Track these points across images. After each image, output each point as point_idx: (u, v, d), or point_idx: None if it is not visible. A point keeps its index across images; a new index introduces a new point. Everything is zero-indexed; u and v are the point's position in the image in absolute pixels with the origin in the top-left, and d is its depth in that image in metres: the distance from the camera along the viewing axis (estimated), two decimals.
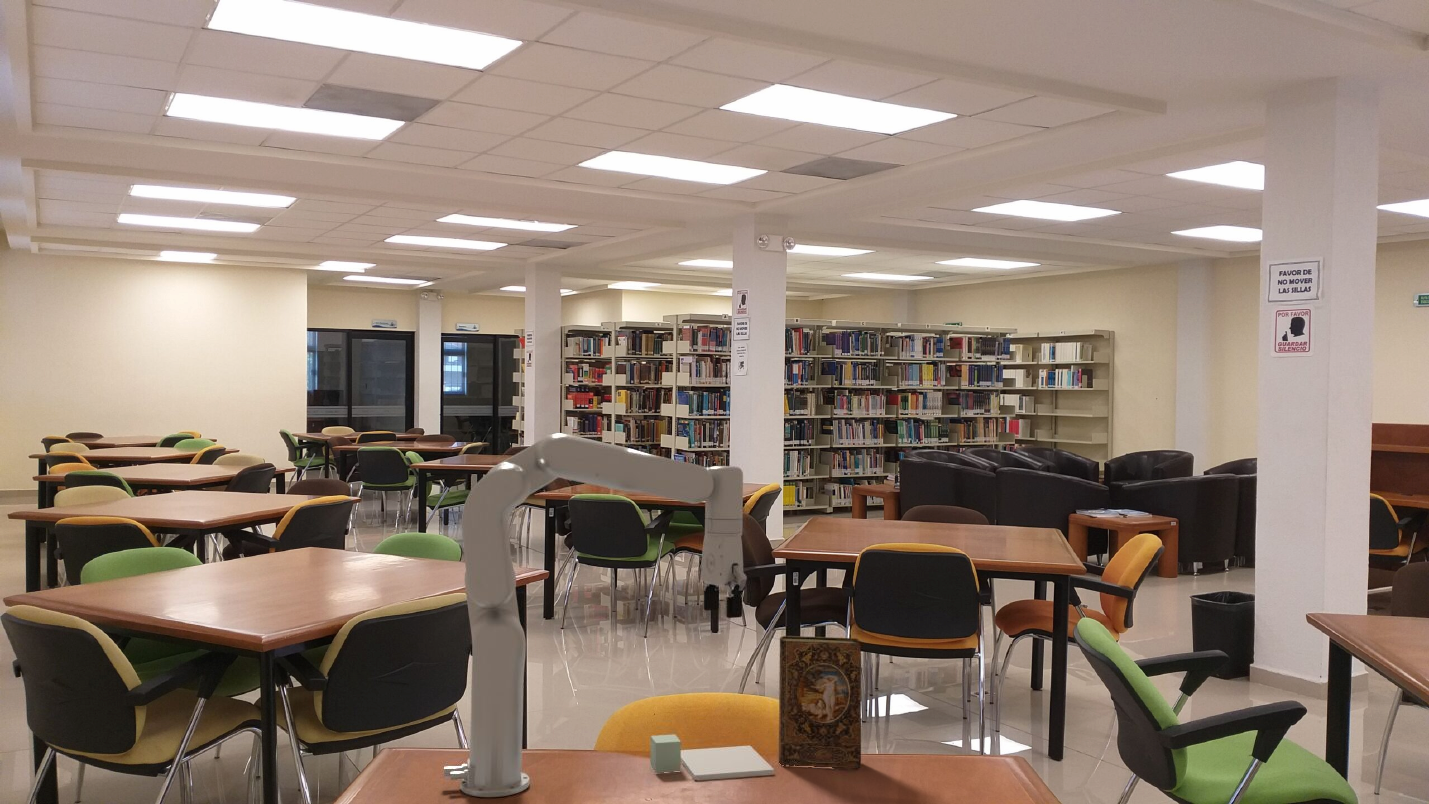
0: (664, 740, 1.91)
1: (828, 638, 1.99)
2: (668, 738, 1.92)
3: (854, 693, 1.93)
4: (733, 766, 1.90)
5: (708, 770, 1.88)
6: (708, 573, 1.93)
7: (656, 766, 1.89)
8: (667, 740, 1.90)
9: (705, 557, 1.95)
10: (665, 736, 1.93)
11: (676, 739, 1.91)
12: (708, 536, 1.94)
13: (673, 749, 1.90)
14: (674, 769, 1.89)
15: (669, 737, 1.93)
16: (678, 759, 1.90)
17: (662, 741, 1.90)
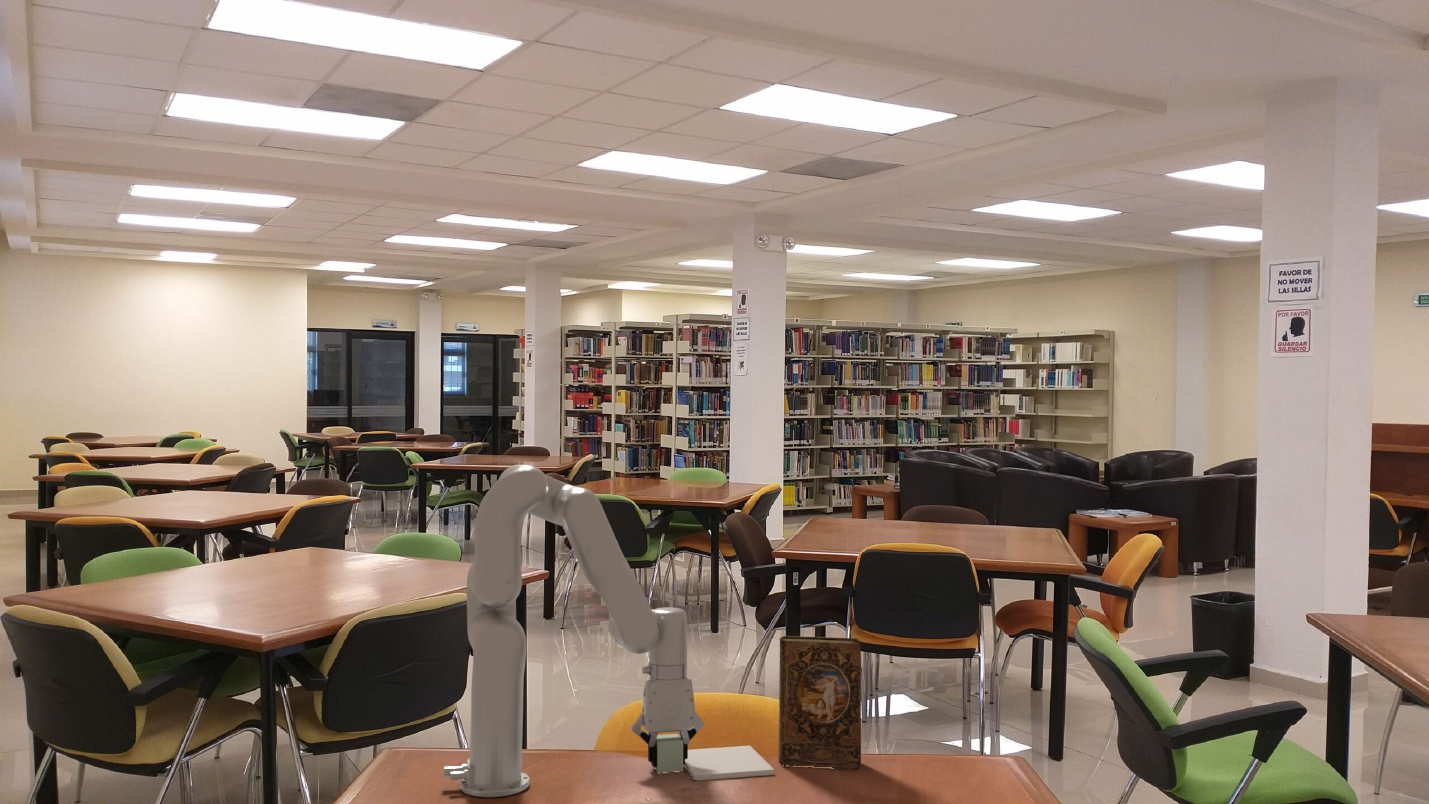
0: (666, 740, 1.91)
1: (828, 638, 1.99)
2: (670, 737, 1.92)
3: (854, 693, 1.93)
4: (733, 766, 1.90)
5: (708, 770, 1.88)
6: (667, 721, 1.89)
7: (659, 766, 1.89)
8: (669, 740, 1.91)
9: (659, 706, 1.89)
10: (668, 736, 1.93)
11: (678, 738, 1.91)
12: (663, 684, 1.90)
13: (675, 748, 1.90)
14: (677, 768, 1.90)
15: (671, 736, 1.93)
16: (681, 758, 1.90)
17: (664, 741, 1.90)
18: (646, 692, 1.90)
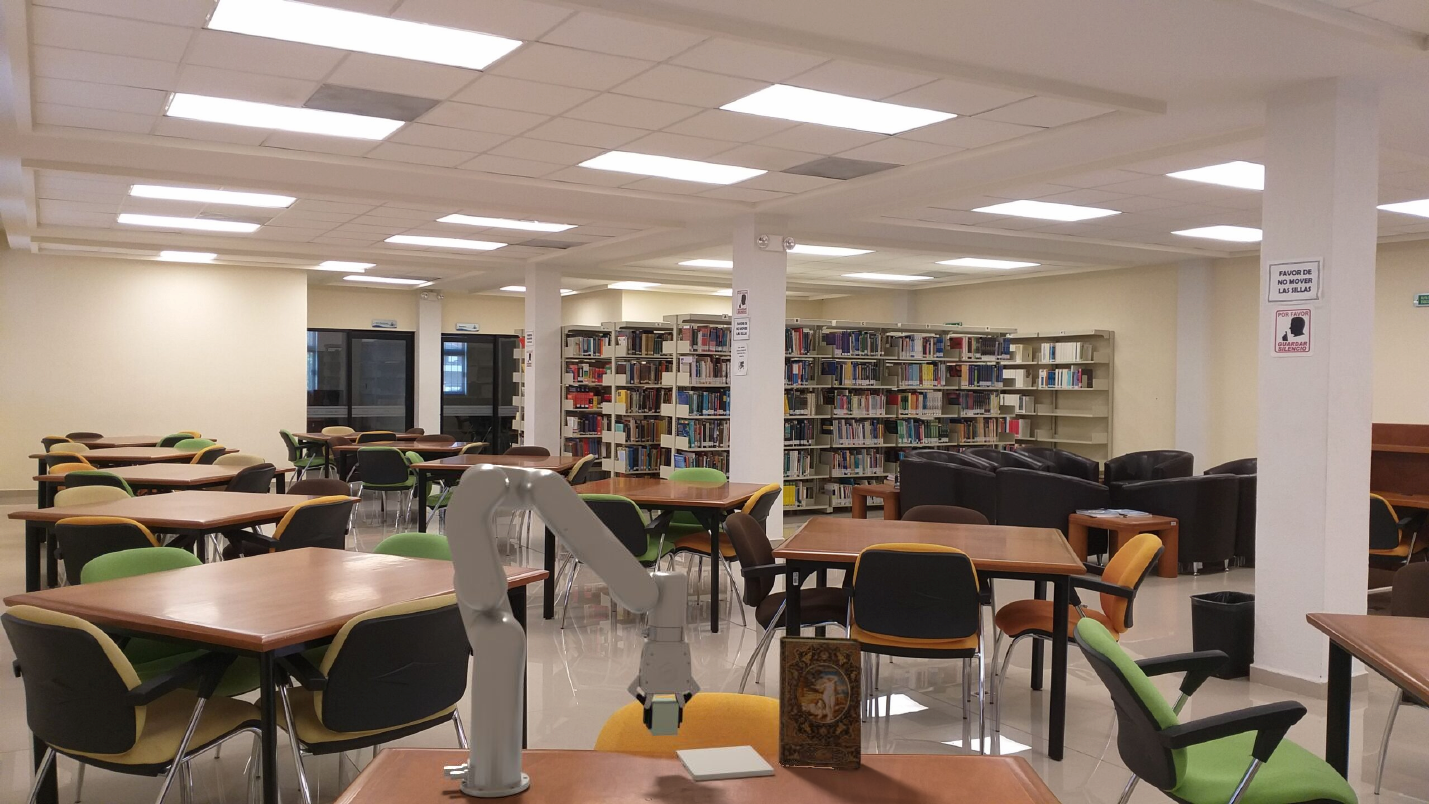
0: (661, 702, 1.91)
1: (828, 638, 1.99)
2: (666, 700, 1.92)
3: (854, 693, 1.93)
4: (733, 766, 1.90)
5: (708, 770, 1.88)
6: (663, 683, 1.89)
7: (653, 727, 1.89)
8: (665, 702, 1.91)
9: (656, 668, 1.89)
10: (663, 699, 1.93)
11: (674, 702, 1.92)
12: (661, 646, 1.90)
13: (671, 711, 1.90)
14: (671, 731, 1.90)
15: (667, 700, 1.93)
16: (675, 721, 1.90)
17: (660, 703, 1.90)
18: (644, 653, 1.90)
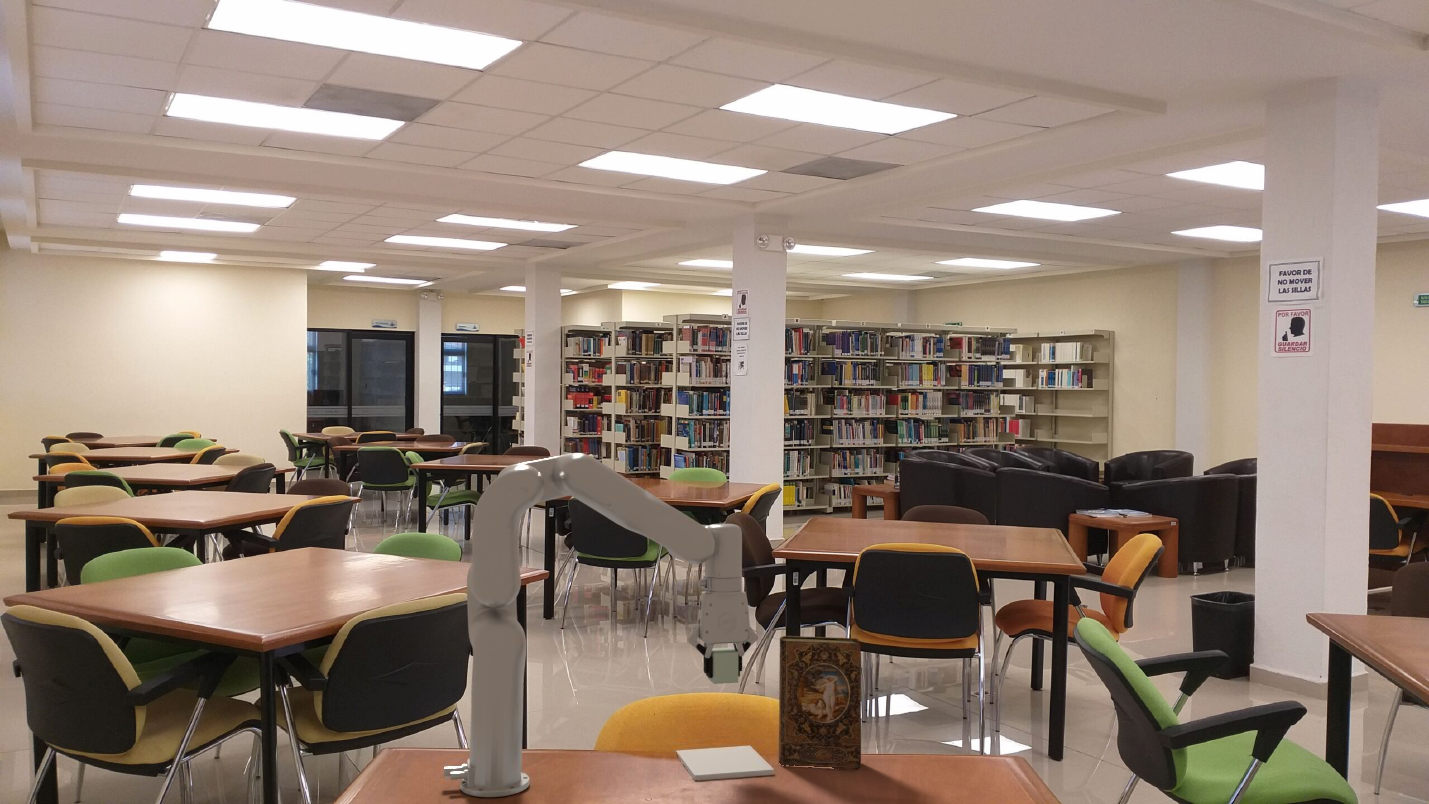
0: (721, 651, 1.94)
1: (828, 638, 1.99)
2: (725, 650, 1.96)
3: (854, 693, 1.93)
4: (733, 766, 1.90)
5: (708, 770, 1.88)
6: (722, 633, 1.93)
7: (715, 676, 1.93)
8: (724, 651, 1.94)
9: (715, 618, 1.93)
10: (722, 649, 1.97)
11: (733, 650, 1.95)
12: (719, 596, 1.93)
13: (731, 659, 1.94)
14: (732, 679, 1.93)
15: (726, 649, 1.97)
16: (736, 669, 1.94)
17: (720, 652, 1.94)
18: (702, 604, 1.94)
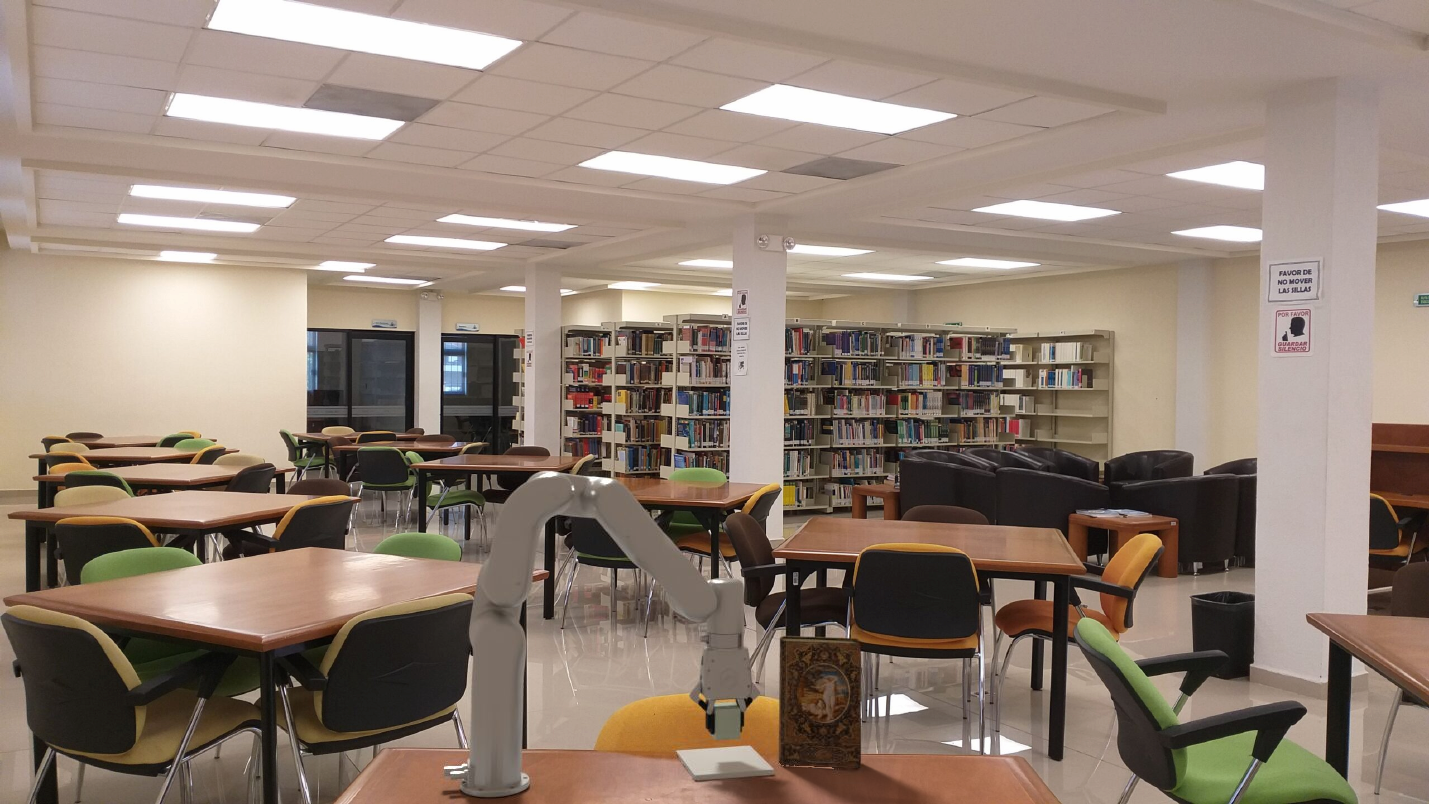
0: (723, 707, 1.94)
1: (828, 638, 1.99)
2: (727, 705, 1.96)
3: (854, 693, 1.93)
4: (733, 766, 1.90)
5: (708, 770, 1.88)
6: (724, 689, 1.93)
7: (717, 732, 1.92)
8: (726, 707, 1.94)
9: (717, 674, 1.92)
10: (724, 704, 1.96)
11: (735, 706, 1.95)
12: (721, 652, 1.93)
13: (733, 715, 1.93)
14: (734, 735, 1.93)
15: (728, 704, 1.96)
16: (738, 725, 1.93)
17: (722, 708, 1.93)
18: (704, 660, 1.93)
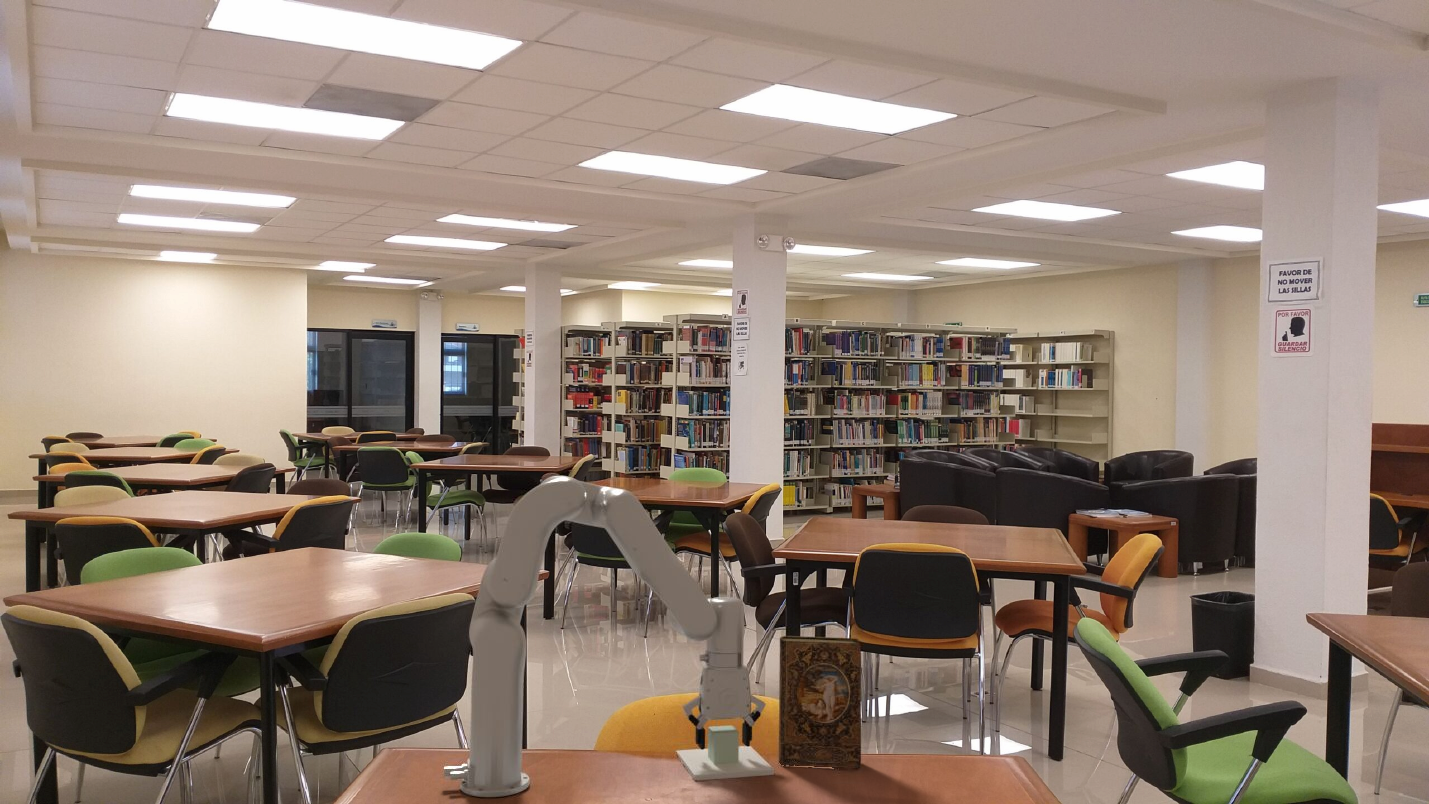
0: (722, 731, 1.94)
1: (828, 638, 1.99)
2: (726, 729, 1.95)
3: (854, 693, 1.93)
4: (733, 766, 1.90)
5: (708, 770, 1.88)
6: (724, 709, 1.92)
7: (715, 756, 1.92)
8: (725, 731, 1.94)
9: (716, 694, 1.92)
10: (723, 727, 1.96)
11: (734, 730, 1.94)
12: (720, 671, 1.93)
13: (731, 739, 1.93)
14: (732, 759, 1.93)
15: (727, 728, 1.96)
16: (736, 749, 1.93)
17: (720, 732, 1.93)
18: (704, 679, 1.93)
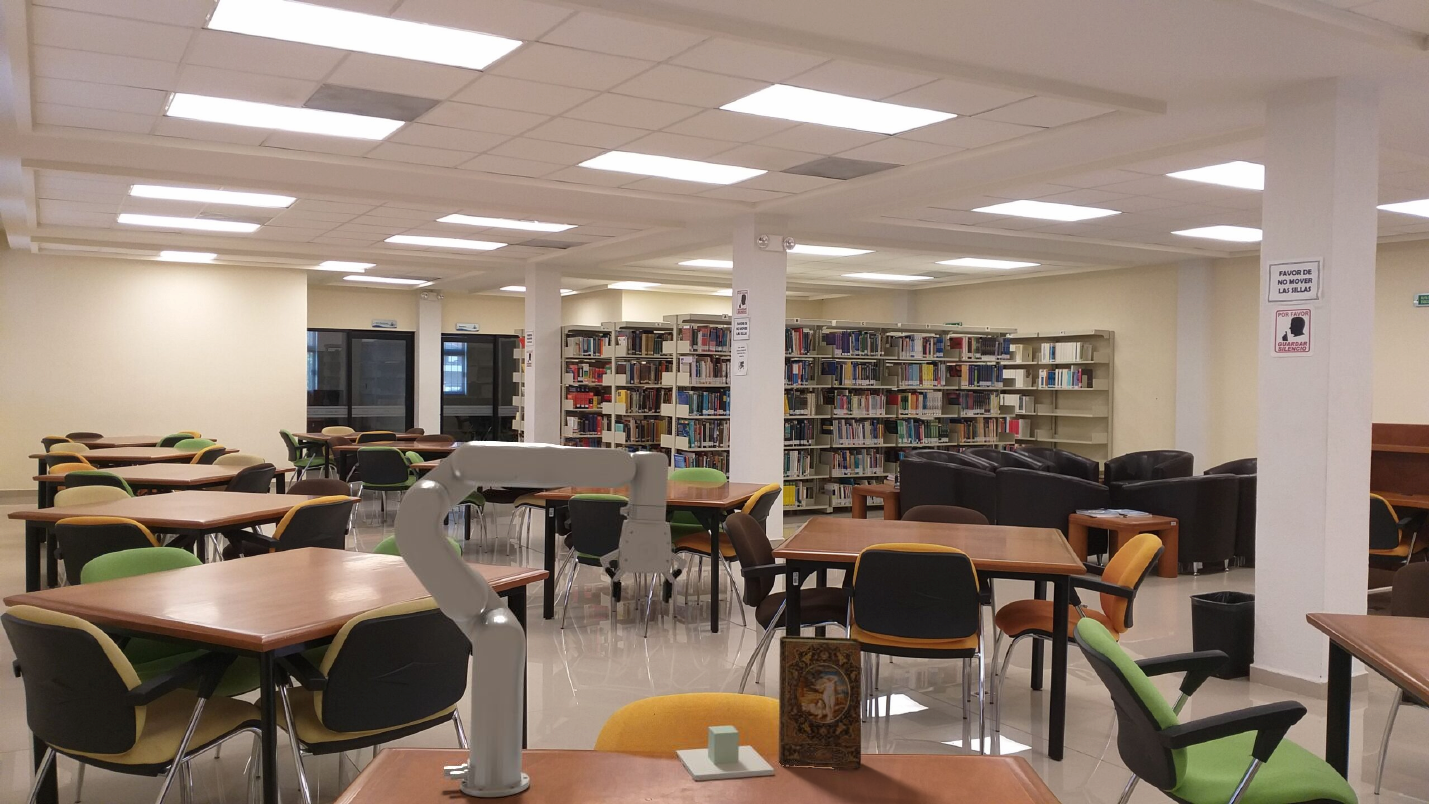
0: (722, 731, 1.94)
1: (828, 638, 1.99)
2: (726, 729, 1.95)
3: (854, 693, 1.93)
4: (733, 766, 1.90)
5: (708, 770, 1.88)
6: (642, 562, 1.87)
7: (715, 756, 1.92)
8: (725, 731, 1.94)
9: (635, 546, 1.87)
10: (723, 727, 1.96)
11: (734, 730, 1.94)
12: (641, 524, 1.88)
13: (731, 739, 1.93)
14: (732, 759, 1.93)
15: (727, 728, 1.96)
16: (736, 749, 1.93)
17: (720, 732, 1.93)
18: (623, 532, 1.88)
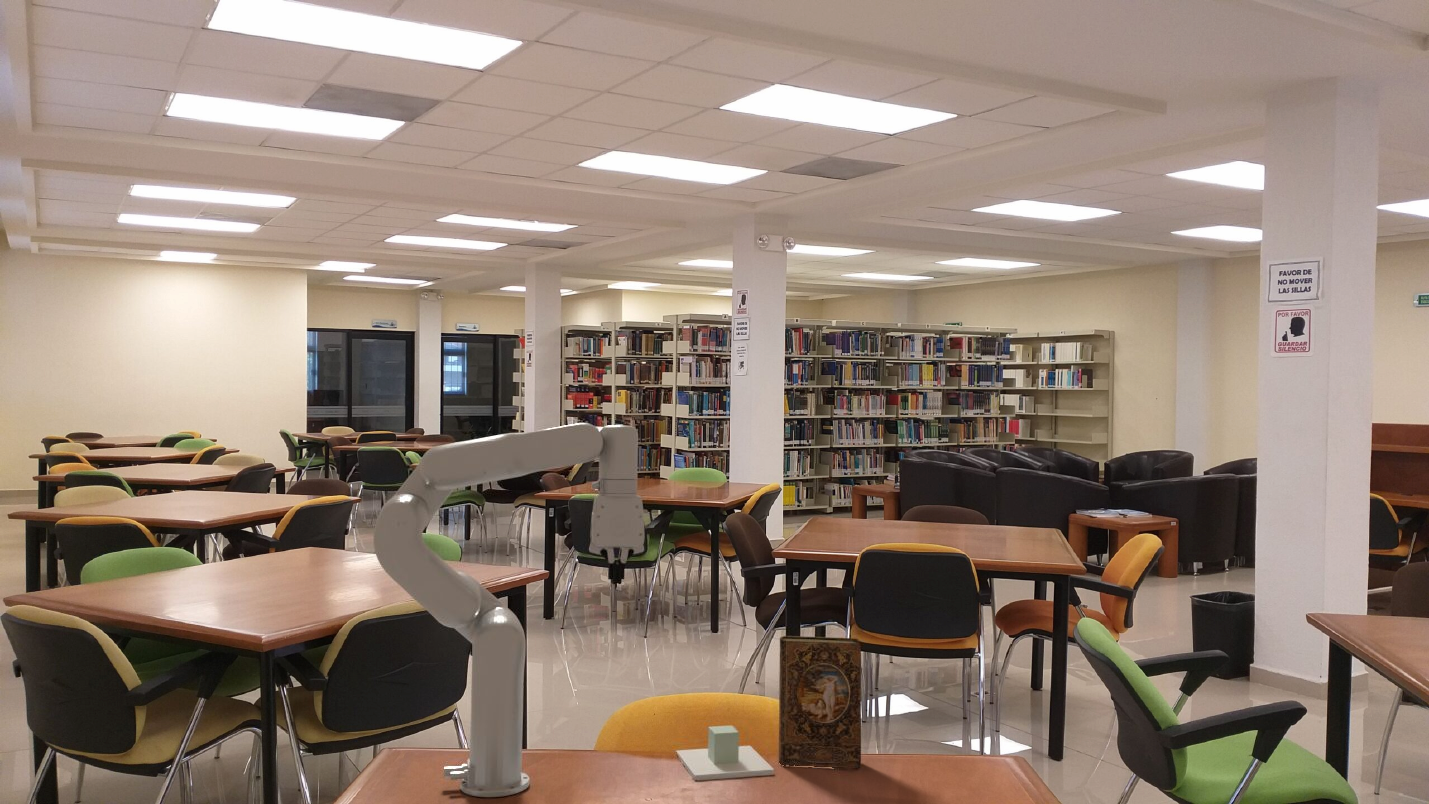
0: (722, 731, 1.94)
1: (828, 638, 1.99)
2: (726, 729, 1.95)
3: (854, 693, 1.93)
4: (733, 766, 1.90)
5: (708, 770, 1.88)
6: (615, 536, 1.85)
7: (715, 756, 1.92)
8: (725, 731, 1.94)
9: (607, 521, 1.85)
10: (723, 727, 1.96)
11: (734, 730, 1.94)
12: (612, 498, 1.86)
13: (731, 739, 1.93)
14: (732, 759, 1.93)
15: (727, 728, 1.96)
16: (736, 749, 1.93)
17: (720, 732, 1.93)
18: (594, 507, 1.86)
